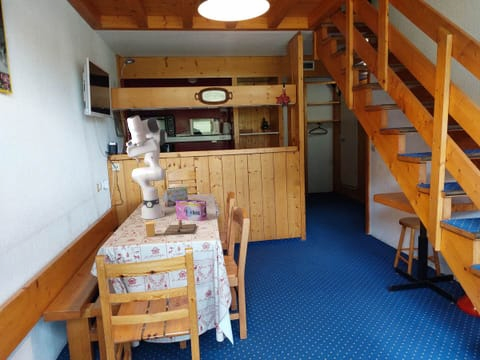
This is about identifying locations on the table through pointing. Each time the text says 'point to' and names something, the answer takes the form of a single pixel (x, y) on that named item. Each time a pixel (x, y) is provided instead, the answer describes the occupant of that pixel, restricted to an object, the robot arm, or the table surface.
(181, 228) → the walnut post board
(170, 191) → the snack box
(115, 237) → the table surface
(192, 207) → the gum box
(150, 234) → the upright amber block
